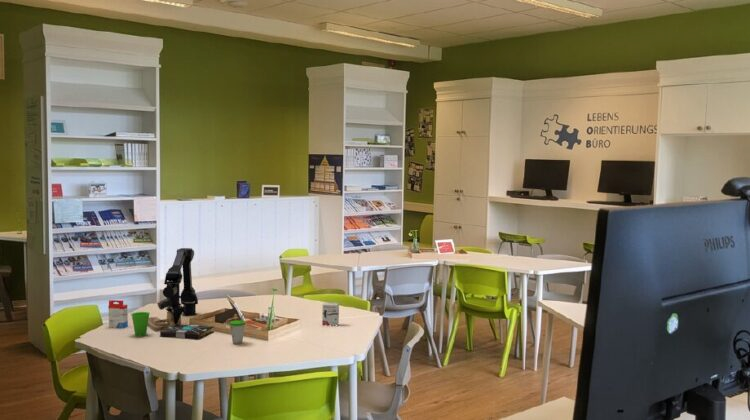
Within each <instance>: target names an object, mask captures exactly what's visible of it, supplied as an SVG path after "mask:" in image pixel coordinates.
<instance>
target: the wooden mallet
mask: <svg viewBox="0 0 750 420" xmlns="http://www.w3.org/2000/svg"><path fill="white" fill-rule="evenodd" d="M171 312H172V311H169V312H168V311H166V318H164V319H161V320H154V323H155V324H157V323H163V322H166V323H167V324H169V325H170V326H171V327H173V326H175V325H177V324H175V323H174V317H173V314H172V313H171ZM177 323H178V324H181V325H182V315H181V316H180V318H179V320H178V322H177Z"/></svg>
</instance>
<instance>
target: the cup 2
mask: <svg viewBox="0 0 750 420" xmlns="http://www.w3.org/2000/svg"><path fill="white" fill-rule="evenodd" d="M244 315H245V313H243V314H242V315H241V316H240V320H232V321H229V326H230V332H231V338H232V339H231V340H232V344H233V345H241V344H243V340H244V333H245V325H246V321H245V320H243V317H244Z"/></svg>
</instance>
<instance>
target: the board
mask: <svg viewBox="0 0 750 420" xmlns="http://www.w3.org/2000/svg"><path fill="white" fill-rule="evenodd" d="M154 320H162V319H161V318H159V317H157V316H152V317H151V316H149V319H148V325H147V328H150V329H151V330H152V331H154V332H160V331H162V330H166V329H168V328H169V326H170V325H169V324H167V322H163V323H157V324H155V323H154ZM170 327H171V326H170Z"/></svg>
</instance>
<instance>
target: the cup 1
mask: <svg viewBox="0 0 750 420" xmlns="http://www.w3.org/2000/svg"><path fill="white" fill-rule="evenodd" d="M150 314H151V313H150V312H148V311H137V312H132V313H130V315H131V318H132V326H133V331H134V335H135V337H145V336H146V335H147V331H148V326H147V325H148V319H149V318H150Z"/></svg>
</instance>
